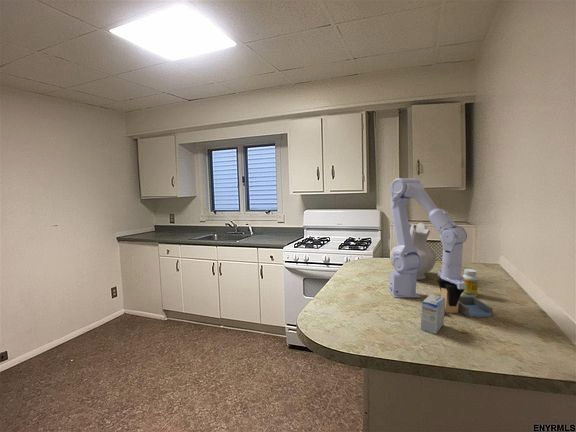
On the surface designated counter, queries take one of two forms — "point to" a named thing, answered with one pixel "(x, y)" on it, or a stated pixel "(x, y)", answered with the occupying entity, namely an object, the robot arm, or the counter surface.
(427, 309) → the medicine box
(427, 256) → the ceramic pitcher
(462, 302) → the blue shallow tray
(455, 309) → the tan rectangular block
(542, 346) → the counter surface
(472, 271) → the supplement bottle
